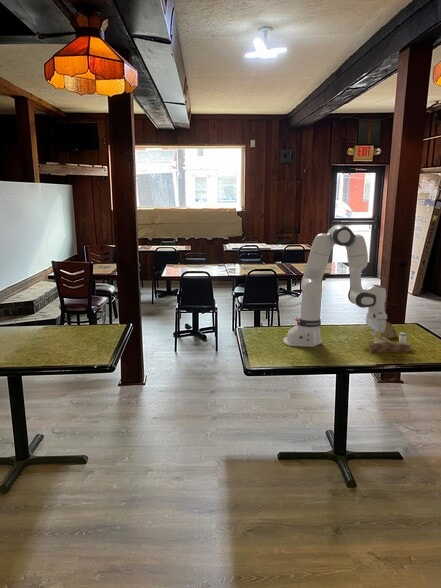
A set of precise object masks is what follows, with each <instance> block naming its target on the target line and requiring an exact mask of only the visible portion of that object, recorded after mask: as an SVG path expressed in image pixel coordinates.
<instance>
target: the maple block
mask: <svg viewBox="0 0 441 588" xmlns="http://www.w3.org/2000/svg"><path fill="white" fill-rule="evenodd" d="M373 343H392V340H390V339H389V338H388V339H386V338H384V337H381V336H380V337H379V336H378V337H377V336H376V337H373Z"/></svg>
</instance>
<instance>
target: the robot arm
mask: <svg viewBox="0 0 441 588" xmlns="http://www.w3.org/2000/svg"><path fill="white" fill-rule="evenodd" d="M365 239H366V238H365V237H364V236H363V235H361V234H355V233H354V232H353V230H351V228H349V227H348V226H346V225H344V224H339V223H338V224H333V225H332V226H331V227H330V228H329V229H328V230H327V231H326V232H325V233H318V234H317V235H316V236H315V238H314V240H313V242H312V244H311V248H310V251H309V254H308V255H309V256H308V259H307V261H306V262H307V263H306V266H305V269H304V272H303V276H302V278H301V283H300V287H301V302H300V317H299V318H298V317H296V318H295V322H296V324H295V325H294V326H293V327H291V328H290V329H288V331H287V334H286V336H285V337H283V339H282V341H283V343H284V344H285V345H287V346H292V347H312V348H313V347H316V346H318V345H321V344H322V343H323V341H322V337H321V326H322V325H321V324H322V320H321V304H322V296H323V284H322V281H323V278H324V274H325V272H326V270H327V267H328V263H329V259H330V255H331V251H332V249H333V247H335V245H337V246H341V247H345V249H346V256H347V257H346V258H347V263H348V269H349V290H348V294H347V299H348V301H349V302H350V303H352V304H354V305H356V306H357V307H359V308H361V309H364V308H365V309H366V308H367V309H368V310H367V313H366V317H365V323H366V325H367V326H369V327H370V329H371V336H373V337H377V333H384V331H385V327H386V321H387V320H388V314H387V313H386V311H385V310H386V308H385V304H386V299H387V298H386V297H387V296H386V295H387V291H386V288H385V287H384V286H383V285H378V284H371V286H369V287H367V288H365V289H363V287H362V286H363V285H362V271H363V270H364V269H366V268H367V266H368V263H369V256H368V255H369V253H368V247H367V243H366V240H365Z"/></svg>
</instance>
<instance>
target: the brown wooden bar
mask: <svg viewBox="0 0 441 588" xmlns="http://www.w3.org/2000/svg"><path fill="white" fill-rule="evenodd" d="M411 348H412V345H411V343H410V342H406V343H399V342H391V343H374V342H373V343H372V342H371V343H368V352H369V353H390V352H391V353H393V352H394V353H396V352H397V353H399V352H407V353H409V352H411V350H412V349H411Z"/></svg>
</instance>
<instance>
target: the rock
mask: <svg viewBox="0 0 441 588" xmlns="http://www.w3.org/2000/svg"><path fill="white" fill-rule="evenodd" d="M380 337H384V338H386V339H388V340H389V339H393V338H397V337H398V335H397V331H396V329H395V328H394V326H393V324H392V323H391V322H389V321H387V320H386V327H385V331H384V333H381V334H380Z"/></svg>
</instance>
